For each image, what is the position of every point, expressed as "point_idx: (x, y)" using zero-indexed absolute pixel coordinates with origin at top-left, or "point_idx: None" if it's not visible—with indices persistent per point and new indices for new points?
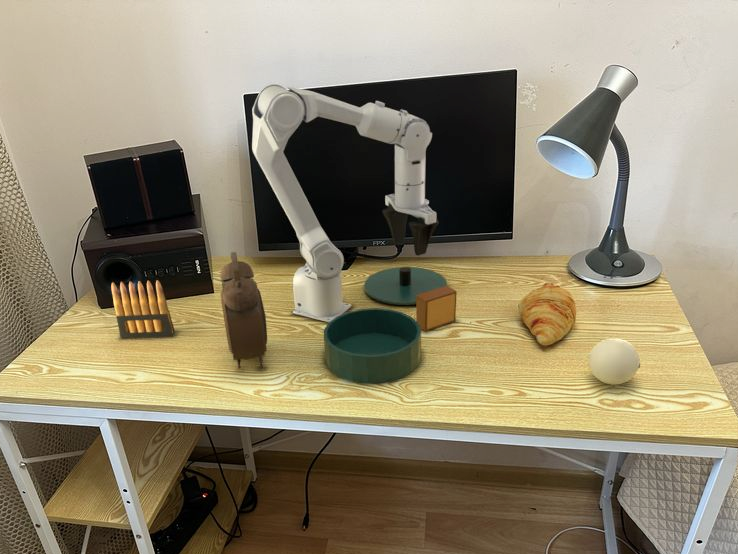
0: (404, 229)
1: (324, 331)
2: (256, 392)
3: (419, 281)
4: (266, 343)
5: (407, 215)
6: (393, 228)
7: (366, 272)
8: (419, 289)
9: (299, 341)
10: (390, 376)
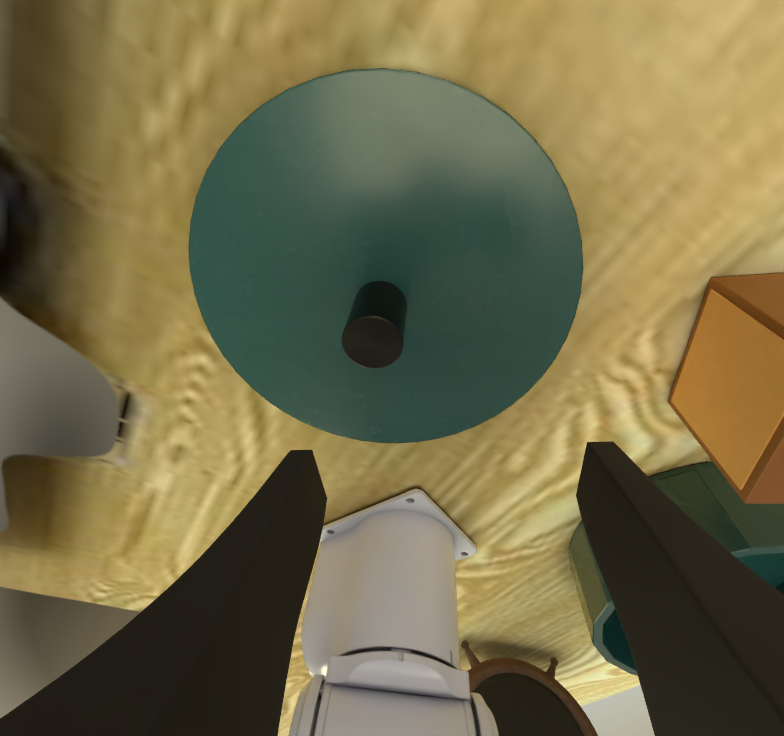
0: (276, 527)
1: (636, 674)
2: (614, 673)
3: (392, 236)
4: (554, 700)
5: (197, 662)
6: (293, 628)
7: (172, 351)
8: (469, 281)
9: (506, 602)
10: None
